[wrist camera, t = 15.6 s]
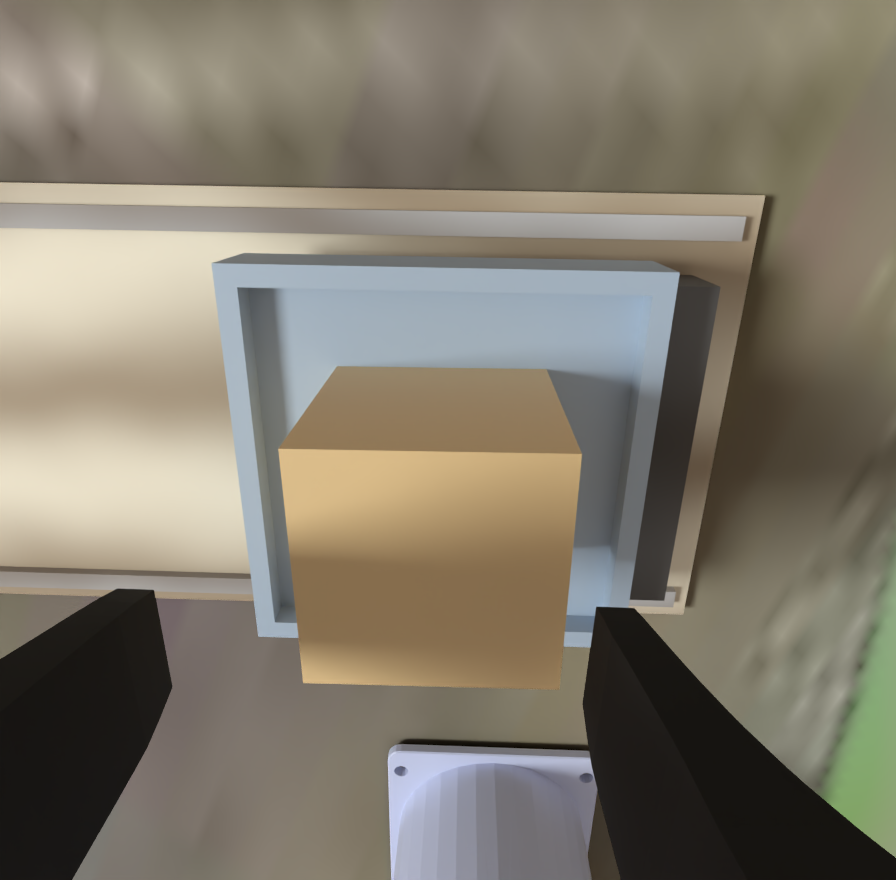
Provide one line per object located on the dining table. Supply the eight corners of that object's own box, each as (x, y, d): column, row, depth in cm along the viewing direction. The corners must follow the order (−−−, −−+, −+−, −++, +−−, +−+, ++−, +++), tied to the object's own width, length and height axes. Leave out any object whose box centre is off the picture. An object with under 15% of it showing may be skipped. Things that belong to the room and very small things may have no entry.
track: (679, 606, 21) (704, 656, 19) (-46, 584, 22) (-104, 630, 19) (758, 195, 16) (804, 197, 14) (-185, 179, 17) (-285, 178, 14)
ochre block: (534, 549, 17) (559, 690, 12) (348, 545, 17) (303, 683, 12) (546, 369, 15) (581, 454, 10) (336, 366, 15) (278, 449, 10)
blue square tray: (598, 575, 20) (622, 648, 17) (290, 566, 20) (258, 636, 17) (639, 254, 16) (680, 272, 13) (260, 247, 17) (211, 263, 13)
